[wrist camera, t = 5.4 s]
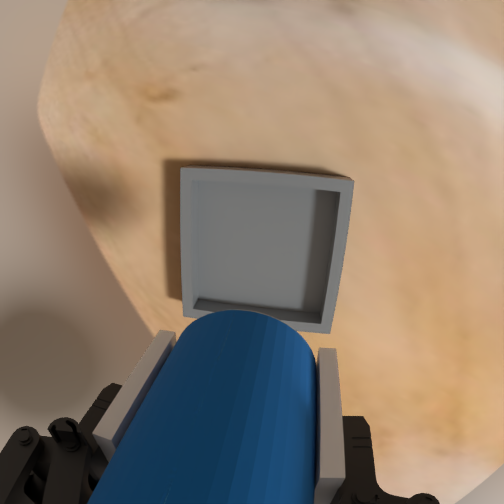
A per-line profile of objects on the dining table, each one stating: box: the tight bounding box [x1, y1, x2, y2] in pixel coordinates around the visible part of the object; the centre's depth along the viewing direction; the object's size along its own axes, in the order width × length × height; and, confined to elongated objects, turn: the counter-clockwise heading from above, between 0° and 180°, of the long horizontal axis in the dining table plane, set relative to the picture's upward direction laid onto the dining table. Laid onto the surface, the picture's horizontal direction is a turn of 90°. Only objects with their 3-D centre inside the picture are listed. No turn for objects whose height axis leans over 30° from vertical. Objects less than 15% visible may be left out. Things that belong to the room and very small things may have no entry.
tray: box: [180, 165, 354, 334], centre depth 29 cm, size 14×14×2 cm
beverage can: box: [87, 309, 317, 504], centre depth 9 cm, size 6×6×12 cm
